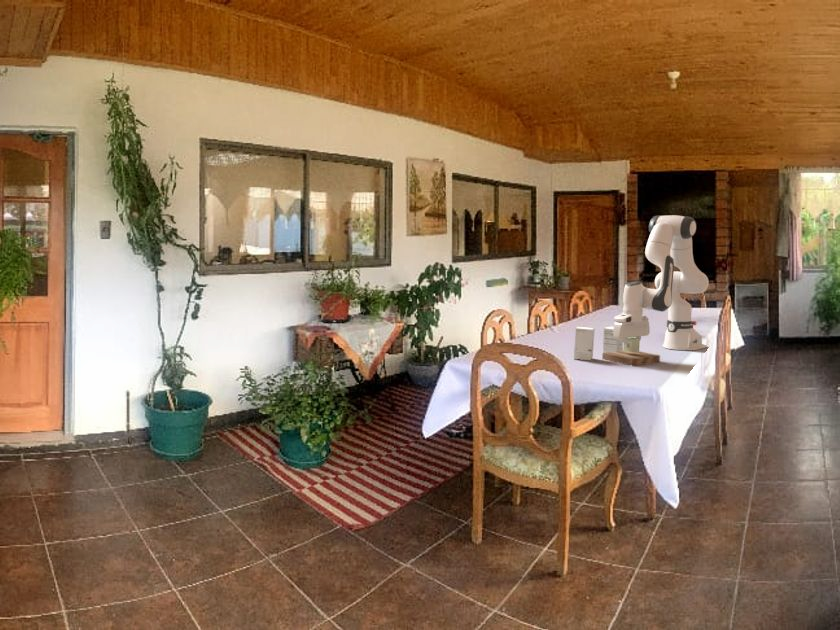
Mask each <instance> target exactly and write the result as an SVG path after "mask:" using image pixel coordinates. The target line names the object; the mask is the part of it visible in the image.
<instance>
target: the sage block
mask: <svg viewBox="0 0 840 630" xmlns="http://www.w3.org/2000/svg"><path fill="white" fill-rule="evenodd" d="M627 342H628V343H629V347H624V345H623V351H627V352H639V351H640V343H641V340H640V339H639V338H635V337H631V338H628V340H627Z"/></svg>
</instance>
